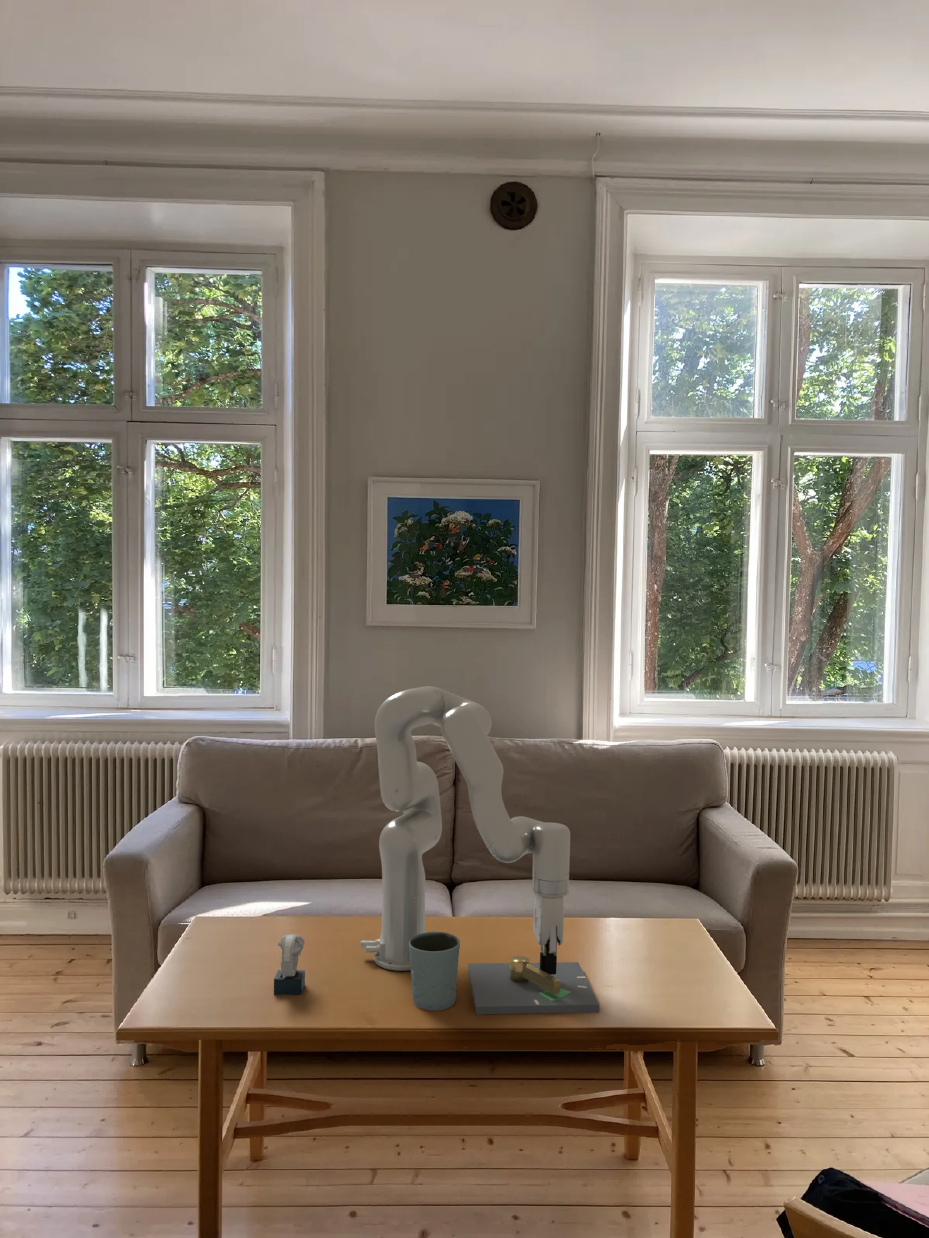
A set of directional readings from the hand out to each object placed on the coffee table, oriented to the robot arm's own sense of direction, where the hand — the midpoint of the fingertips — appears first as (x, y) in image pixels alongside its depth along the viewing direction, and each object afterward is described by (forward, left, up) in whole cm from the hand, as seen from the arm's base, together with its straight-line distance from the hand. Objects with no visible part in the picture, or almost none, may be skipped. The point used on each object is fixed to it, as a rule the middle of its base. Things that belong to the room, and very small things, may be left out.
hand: (547, 972), depth 181 cm
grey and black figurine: (-53, +1, -3) cm, 53 cm away
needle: (-3, -3, -2) cm, 5 cm away
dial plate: (-4, -1, -3) cm, 5 cm away
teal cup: (-24, -5, -3) cm, 25 cm away
